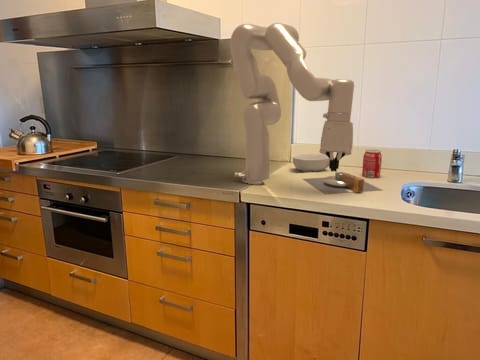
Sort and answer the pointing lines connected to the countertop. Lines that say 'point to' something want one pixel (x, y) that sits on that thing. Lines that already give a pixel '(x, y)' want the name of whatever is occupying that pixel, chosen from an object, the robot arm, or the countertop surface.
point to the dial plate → (329, 189)
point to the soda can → (372, 164)
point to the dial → (345, 181)
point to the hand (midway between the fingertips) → (333, 170)
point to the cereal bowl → (311, 162)
